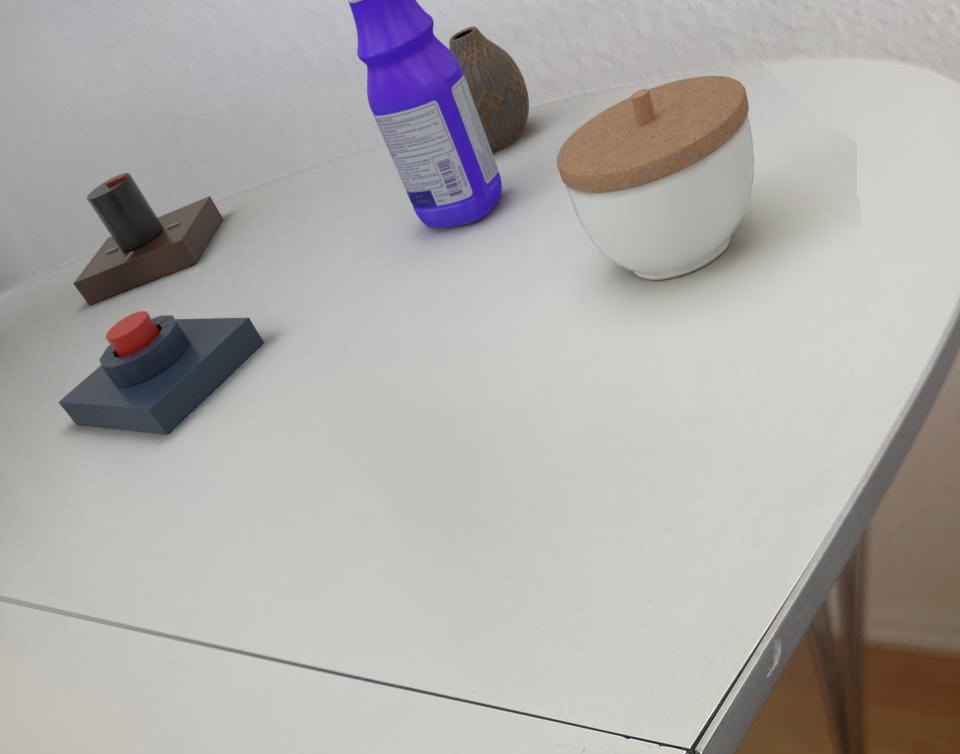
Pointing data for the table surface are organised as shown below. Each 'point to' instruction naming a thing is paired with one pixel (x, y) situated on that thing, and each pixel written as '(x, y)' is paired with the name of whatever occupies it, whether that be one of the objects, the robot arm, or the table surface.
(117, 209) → the dial knob
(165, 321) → the button box
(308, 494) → the table surface
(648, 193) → the trinket box
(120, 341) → the button
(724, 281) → the table surface
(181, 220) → the panel
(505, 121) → the vase
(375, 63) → the bottle
